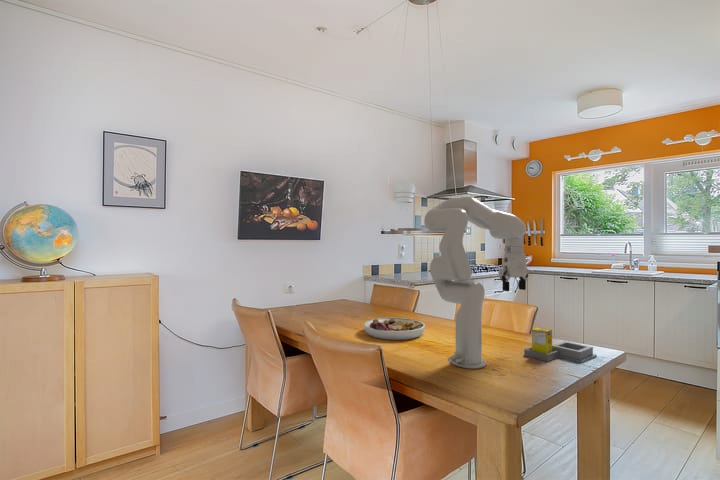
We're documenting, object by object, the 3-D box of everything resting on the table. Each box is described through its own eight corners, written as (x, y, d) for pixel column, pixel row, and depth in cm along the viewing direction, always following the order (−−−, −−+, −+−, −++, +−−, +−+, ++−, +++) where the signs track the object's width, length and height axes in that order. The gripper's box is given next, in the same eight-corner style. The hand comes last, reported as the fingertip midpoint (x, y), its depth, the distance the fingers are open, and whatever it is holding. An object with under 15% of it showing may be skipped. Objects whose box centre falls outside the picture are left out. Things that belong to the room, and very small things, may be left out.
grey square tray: (547, 361, 146) (547, 355, 146) (524, 355, 154) (524, 349, 154) (560, 356, 152) (560, 350, 152) (536, 351, 160) (536, 345, 160)
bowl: (384, 324, 211) (384, 310, 211) (434, 332, 193) (434, 316, 193) (352, 335, 187) (352, 319, 187) (406, 345, 169) (406, 328, 169)
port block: (581, 363, 144) (581, 353, 144) (547, 354, 155) (547, 345, 155) (596, 356, 152) (596, 347, 152) (563, 349, 163) (563, 340, 163)
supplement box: (552, 356, 153) (552, 328, 153) (547, 359, 149) (547, 331, 149) (536, 353, 157) (536, 326, 157) (531, 356, 153) (531, 329, 153)
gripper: (506, 251, 157) (506, 292, 157) (535, 250, 164) (535, 290, 165) (492, 250, 164) (492, 290, 164) (521, 249, 171) (521, 288, 171)
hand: (514, 290), depth 164 cm, fingers open, 9 cm apart
